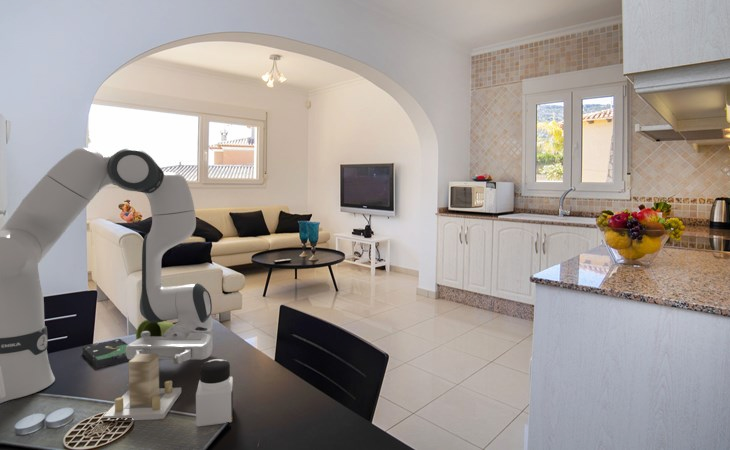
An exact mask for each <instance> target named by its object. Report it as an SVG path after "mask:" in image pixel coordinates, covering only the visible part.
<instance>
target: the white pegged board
mask: <svg viewBox="0 0 730 450" xmlns="http://www.w3.org/2000/svg"><path fill="white" fill-rule="evenodd" d="M181 393H182V387H173V380H166V381H164V388H163V387H161V388H160V387H159V396H154V397H153V398H152V404H151V405H150V406H130V395H129V389H127V391H126V392H125V393H123V395H122V396H121V397H117V398H115V399H114V404H113V405H112V406H111V407H110V409H109V410H108V411H106V412H105V414H104V415H103V416H102V417H103V418H121V419H123V418H133V419H134V420H133V421H145V420H146V421H150V420H164V419H165V417H166V416H167V415H168V413H169V412H170V410H171V408H172V407H173V406H174V404H175V402H176V401H177V399H179V397H180V395H181ZM103 418H102V419H103Z"/></svg>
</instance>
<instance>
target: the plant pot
mask: <svg viewBox="0 0 730 450" xmlns="http://www.w3.org/2000/svg"><path fill="white" fill-rule="evenodd" d="M173 325H175V323H172V322H171V321H163V322H158V323H151V322H150V321H148V320H147V319H144V320H143V321H142V322H141V323H140V324H139V325H138V326H137V329H136V332H135V340H137V339H139V338H141V333H142V332H143V331H149V332H150V337H162V336H163V334H164V333H165V331H166V330H168V329H169V328H170V327H172V326H173Z"/></svg>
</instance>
